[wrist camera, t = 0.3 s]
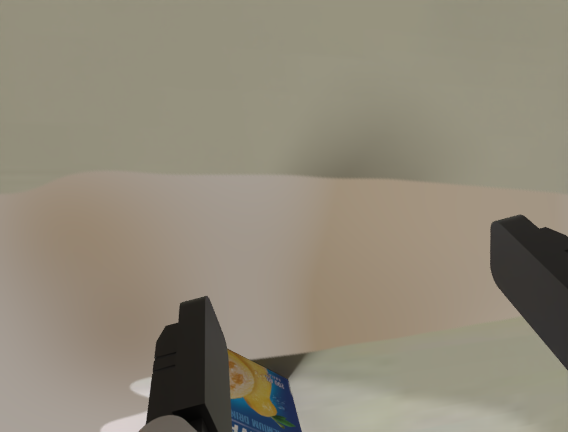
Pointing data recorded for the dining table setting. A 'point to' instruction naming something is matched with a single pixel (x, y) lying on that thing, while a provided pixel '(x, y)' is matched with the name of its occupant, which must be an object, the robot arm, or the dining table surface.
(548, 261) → the robot arm
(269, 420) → the blue snack box
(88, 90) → the dining table surface
